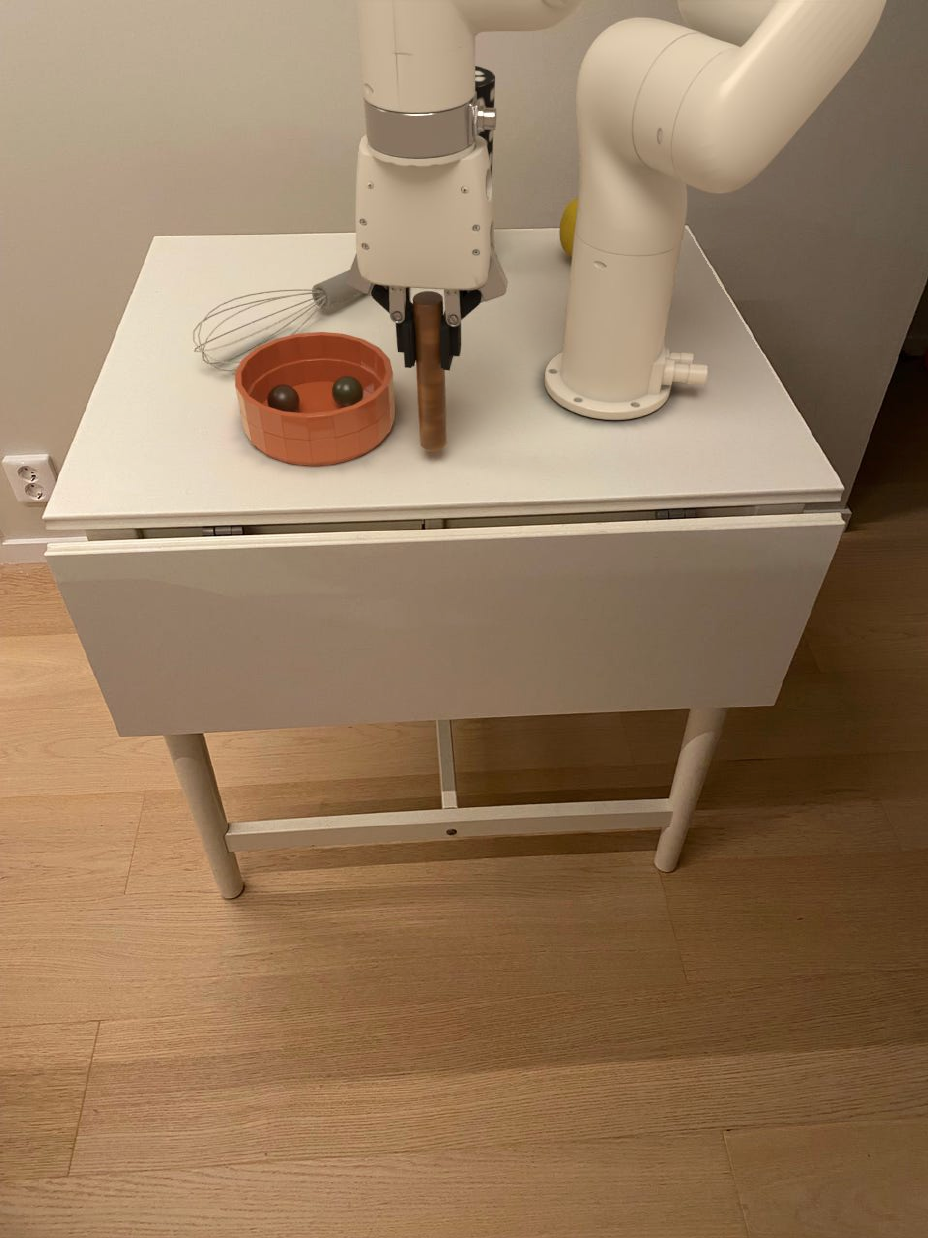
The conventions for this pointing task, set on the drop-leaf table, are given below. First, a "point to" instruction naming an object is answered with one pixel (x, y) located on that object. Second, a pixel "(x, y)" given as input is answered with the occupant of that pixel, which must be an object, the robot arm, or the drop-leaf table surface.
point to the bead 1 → (283, 398)
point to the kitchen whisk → (322, 295)
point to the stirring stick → (430, 370)
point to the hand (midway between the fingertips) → (429, 358)
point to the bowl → (316, 398)
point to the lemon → (568, 226)
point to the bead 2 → (347, 391)
